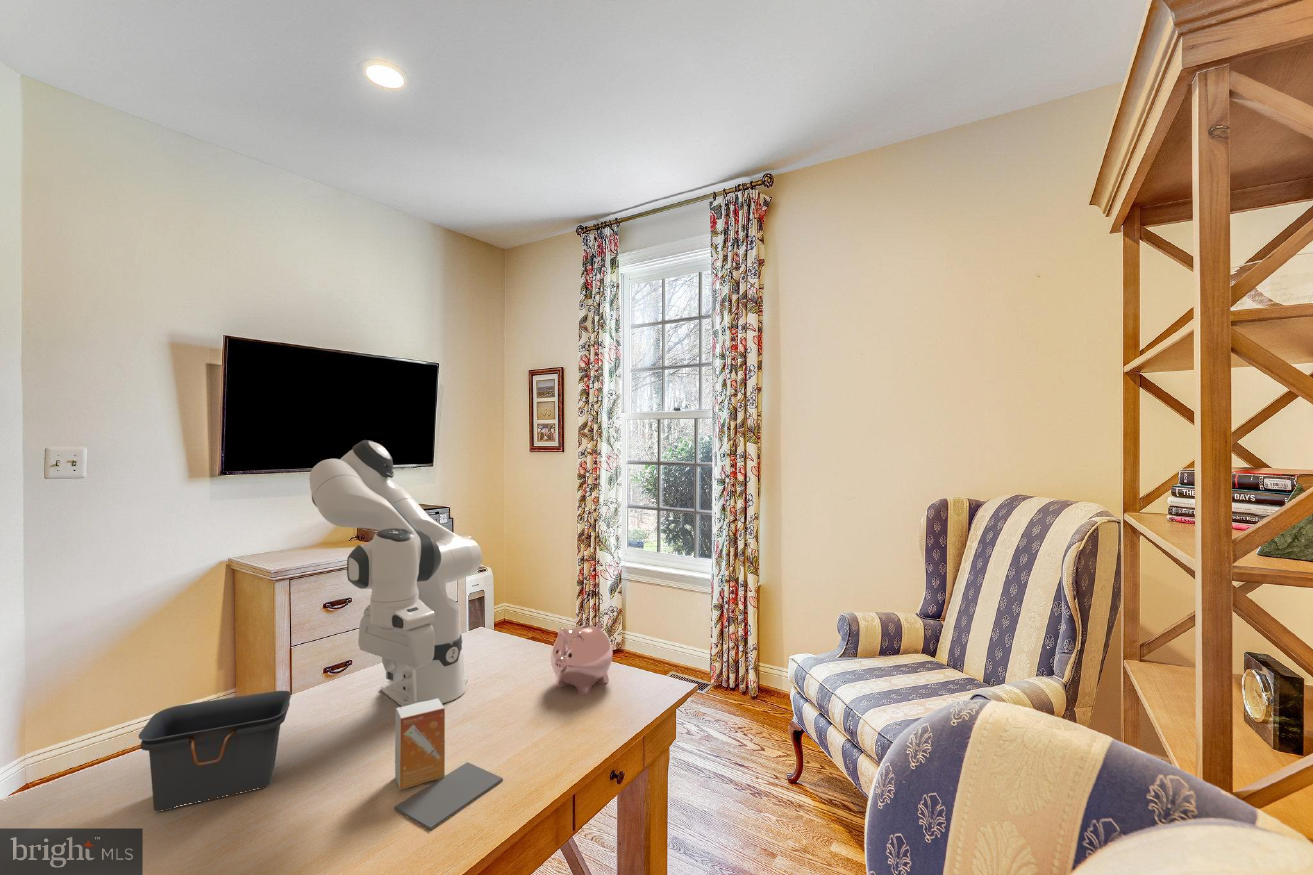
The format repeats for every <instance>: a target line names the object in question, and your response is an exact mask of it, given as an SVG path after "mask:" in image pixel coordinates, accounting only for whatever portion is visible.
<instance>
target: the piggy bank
mask: <svg viewBox="0 0 1313 875" xmlns="http://www.w3.org/2000/svg"><path fill="white" fill-rule="evenodd" d="M597 625H598V627H597V626H595V625H589V624H588V625H581V626H575V627H572V628H568V629H567V628H564V627H560V628H559V629H558V633H557V638H556V640H555V642H554V643H553V645H552V649H551V652H550V653H551V654H550V663H551V668H552V670H553V672H554V675H555V678H556V682H555V687H557V688H565V687H566V686H568V685H571V686H573V687H575V688H576V689H577V692H578V694H579V695H582V696H586V695H589V694H590V693H591V690H592V687H593V685H594V684H595V683H596V682H598V683H599V684H608V683H609V681H610V680H609V674H608V673H609V672H608V671H609V669H610V667H611V664H612V660H613V647H612V643H611V640H610V639H609V636H607V634H606V633H605V632H604V631H603V630H602V625H601V624H600V621H598V622H597Z"/></svg>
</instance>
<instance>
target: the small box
mask: <svg viewBox="0 0 1313 875" xmlns="http://www.w3.org/2000/svg"><path fill="white" fill-rule="evenodd" d="M445 708H446V707H444V705H443V703H441V702H440V700H439V698H437V699H433V700H429V701H424V702H419V703H414V704H411V705H407V706H403V707H402V706H400V707H395V719H394V720H395V721H394V722H395V728H394V730H395V731H394V732H395V737H394V738H395V739H394V742H395V743H394V745H395V746H394V750H395V751H394V753H395V754H394V759H395V760H394V764H395V765H394V772H395V774H394V776H395V780H396V782H397V784H398V788H399V790H400V791H402V790H405V789H408V788H411V787H414V786H417V785H421V784H423V783H424V784H425V783H427V782H428V783H429V782H431V781H434V780H439V779H440V778H443V777H444V776H445V775H446V773H445V771H446V770H445V768H446V764H445V762H446V752H445V751H446V747H445V746H446V744H445V743H446V740H445V739H446V734H445V731H446V730H445V728H446V726H445V724H446V721H445V720H446V716H445V715H446V712H445V711H446V709H445Z"/></svg>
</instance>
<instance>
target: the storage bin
mask: <svg viewBox="0 0 1313 875" xmlns="http://www.w3.org/2000/svg"><path fill="white" fill-rule="evenodd" d="M291 697H292V692H291V691H289V690H275V691H274V690H273V691H270V692H269V691H267V692H259V693H253V694H248V695H247V694H246V695H240V696H232V697H227V698H219V699H213V700H205V701H199V702H193V703H187V704H179V705H176V706H175V705H174V706H170V707H168V708H164V709H162V710H160V711H158V712H156V713H155V714H153V715H152V716H151V718H150V719H149V720H148V722H146V725H144V727H143V728H142V729H141V731H140V732H139V734H138V739H139V740H141V742H140V749H141V750H142V751H144V752H145V751H146V752H147V751H148V754H149V765H150V777H151V778H150V779H151V789H152V790H151V791H152V800H153V801H152V802H153V810H154V811H155V812H162V811H161V810H165V811H167V810H166V809H169V808H173V809H175V808H174V807H176V806H180V805H184V804H189V803H195V802H198V801H204V800H208V799H213V800H215V799H214V798H217V797H221V798H223V797H222V796H226V795H231V796H233V795H232V794H235V795H237V794H236V793H240V792H245V791H249V790H253V789H257V788H262V789H264V788H263V787H265V788H267V785H268V786H269V784H270V783H271V779H272V775H273V772H274V767H275V765H276V764H275V763H276V758H277V751H278V745H279V744H278V743H279V736H280V732H281V725H282V724H283V723H284V722H285V719H286V717H287V713H288V712H289V707H290V701H291ZM249 792H250V791H249ZM245 793H246V792H245ZM240 794H241V793H240ZM226 797H227V796H226ZM217 799H218V798H217ZM208 801H209V800H208ZM204 802H205V801H204ZM195 804H196V803H195ZM169 810H170V809H169Z"/></svg>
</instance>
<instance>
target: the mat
mask: <svg viewBox="0 0 1313 875" xmlns="http://www.w3.org/2000/svg"><path fill="white" fill-rule="evenodd" d="M503 781H504V779H503V777H501V776H499V775H497V774H494V773H493V772H490V771H488V770H486V769H484V768H482V767H480V766H477V765H475V764H473V763H471V762H468V761H467V762H465V763H464V764H462V765H460V766H459V767H457V768H456V769H453V770H452V771H450V772H449V773H447V774H445V776H444V777H443V778H438V779H436V781H434V782H432V783H430V784H429V785H427V786H426V787H424V788H422V789H421V790H420V791H417V792H416V793H414V794H413V795H411V796H409V797H408V798H406V799H404V800H403V801H401V802H399V803H398V804H396V805H395V806H393V810H395V811H396V812H398V813H399V814H401V815H403V816H405V817H406V818H408V819H409V820H412V821H413V822H416V823H417V824H419V825H420V826H422V827H423V828H425V829H427V830H429V831H432V830H434V829H435V828H437V827H438V826H439V825H440V824H443V823H444V822H445V821H447V820H448V819H450V818H451V817H452V816H454V815H456V814H457V813H459V811H461V810H463V809H464V808H466V807H467V806H469V805H470V804H471V803H473V802H474V801H475V800H477V799H479V798H480V797H481V796H483V795H484V794H486V793H487V792H489V791H490V790H491V789H493V788H495V787H496V786H497V785H499V784H500V783H502V782H503Z"/></svg>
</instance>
